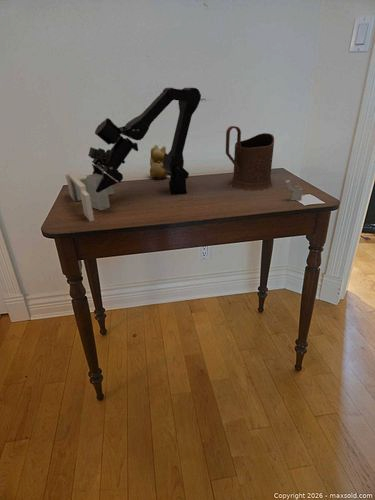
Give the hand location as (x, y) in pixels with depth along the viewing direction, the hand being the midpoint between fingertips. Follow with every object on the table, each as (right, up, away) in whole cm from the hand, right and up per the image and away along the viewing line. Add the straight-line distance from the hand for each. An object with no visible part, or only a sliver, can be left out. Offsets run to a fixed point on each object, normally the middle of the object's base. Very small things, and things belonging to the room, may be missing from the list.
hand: (93, 188), depth 111 cm
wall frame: (-6, -6, +6) cm, 10 cm away
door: (-4, -1, +14) cm, 15 cm away
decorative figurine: (+20, +12, +37) cm, 44 cm away
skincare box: (+1, -6, +5) cm, 8 cm away
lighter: (+73, -3, +6) cm, 74 cm away
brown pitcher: (+60, +6, +24) cm, 64 cm away
